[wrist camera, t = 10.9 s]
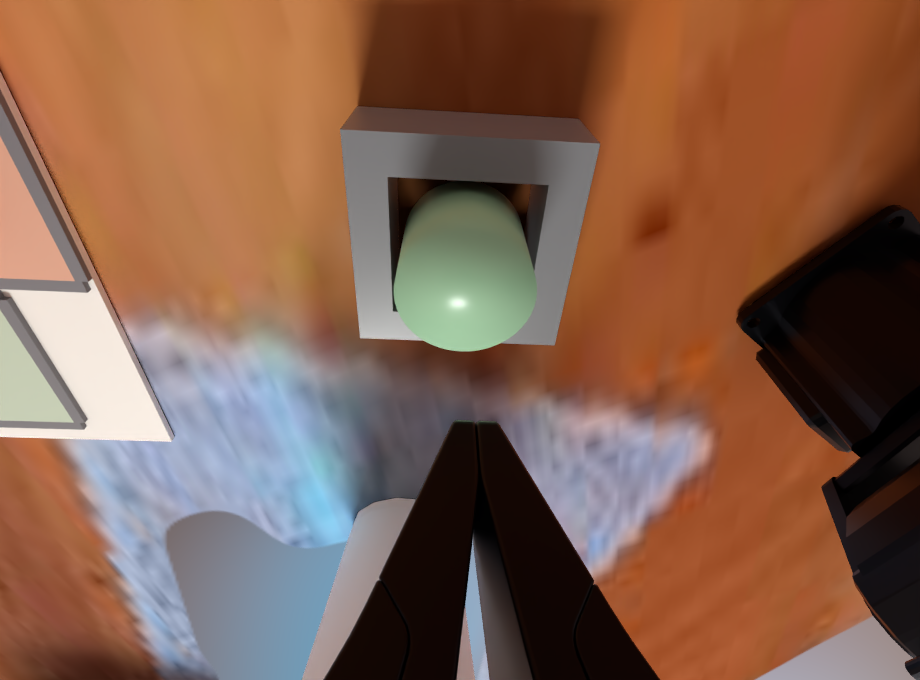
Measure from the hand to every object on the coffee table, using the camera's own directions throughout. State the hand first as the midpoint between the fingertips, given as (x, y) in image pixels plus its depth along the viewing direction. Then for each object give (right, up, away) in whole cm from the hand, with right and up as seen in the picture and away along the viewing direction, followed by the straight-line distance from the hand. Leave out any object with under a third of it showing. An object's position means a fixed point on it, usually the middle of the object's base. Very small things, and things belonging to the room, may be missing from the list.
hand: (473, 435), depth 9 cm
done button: (0, +5, +7) cm, 8 cm away
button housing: (0, +6, +8) cm, 10 cm away
